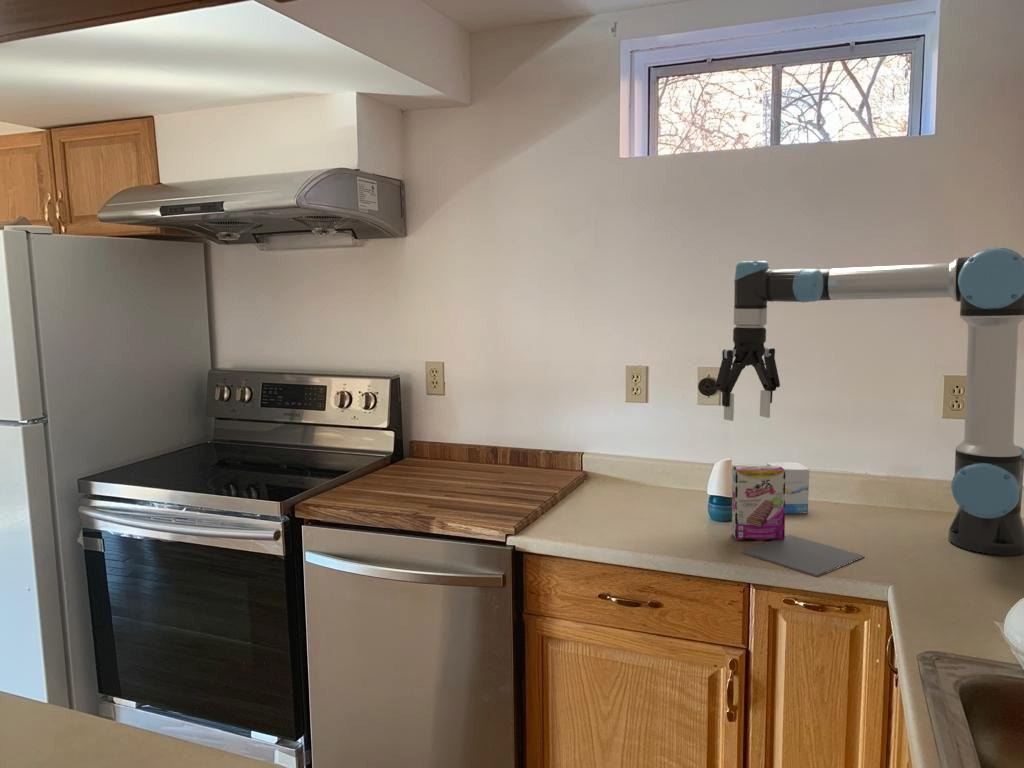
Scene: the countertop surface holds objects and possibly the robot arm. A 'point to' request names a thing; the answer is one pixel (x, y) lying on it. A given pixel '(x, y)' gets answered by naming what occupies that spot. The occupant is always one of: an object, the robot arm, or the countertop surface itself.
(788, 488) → the ink box
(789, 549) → the mat
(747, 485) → the candy bar box
